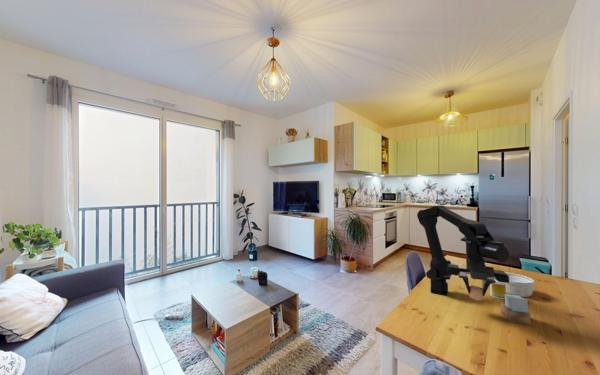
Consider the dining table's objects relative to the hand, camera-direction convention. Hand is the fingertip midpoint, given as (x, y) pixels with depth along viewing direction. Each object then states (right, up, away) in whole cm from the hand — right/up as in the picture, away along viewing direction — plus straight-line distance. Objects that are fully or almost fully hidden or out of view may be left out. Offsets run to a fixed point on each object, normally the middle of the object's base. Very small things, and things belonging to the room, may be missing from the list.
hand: (476, 294), depth 87 cm
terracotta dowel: (0, -1, 0) cm, 1 cm away
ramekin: (+32, -7, +17) cm, 37 cm away
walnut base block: (+11, -7, -4) cm, 14 cm away
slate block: (+11, -3, -4) cm, 13 cm away
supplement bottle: (+20, -7, +13) cm, 25 cm away
